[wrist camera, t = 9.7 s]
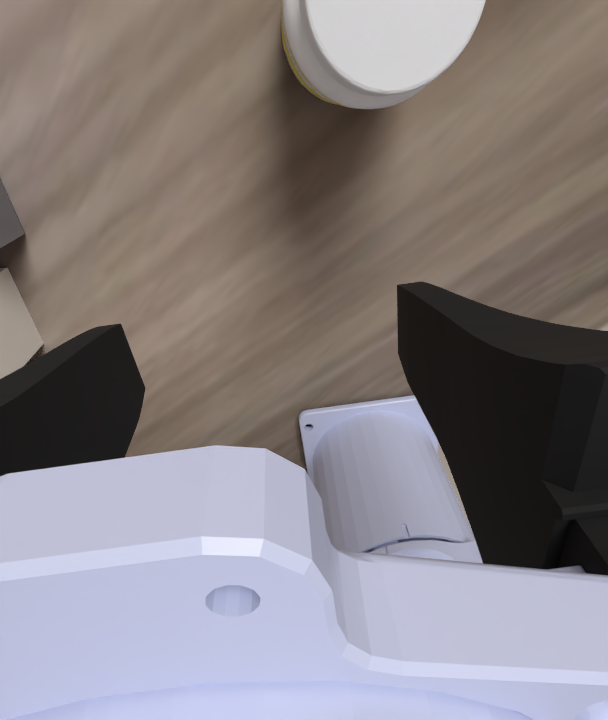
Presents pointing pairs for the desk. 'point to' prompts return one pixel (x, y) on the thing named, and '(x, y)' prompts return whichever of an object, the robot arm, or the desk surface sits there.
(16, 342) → the plug
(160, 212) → the desk surface
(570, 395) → the robot arm
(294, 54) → the supplement bottle
